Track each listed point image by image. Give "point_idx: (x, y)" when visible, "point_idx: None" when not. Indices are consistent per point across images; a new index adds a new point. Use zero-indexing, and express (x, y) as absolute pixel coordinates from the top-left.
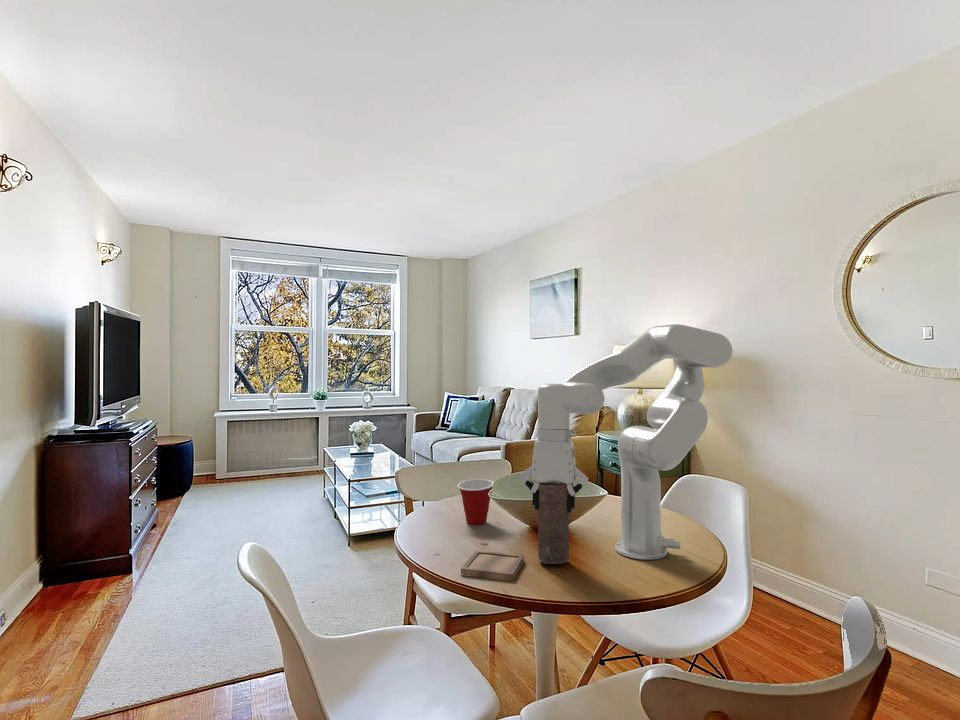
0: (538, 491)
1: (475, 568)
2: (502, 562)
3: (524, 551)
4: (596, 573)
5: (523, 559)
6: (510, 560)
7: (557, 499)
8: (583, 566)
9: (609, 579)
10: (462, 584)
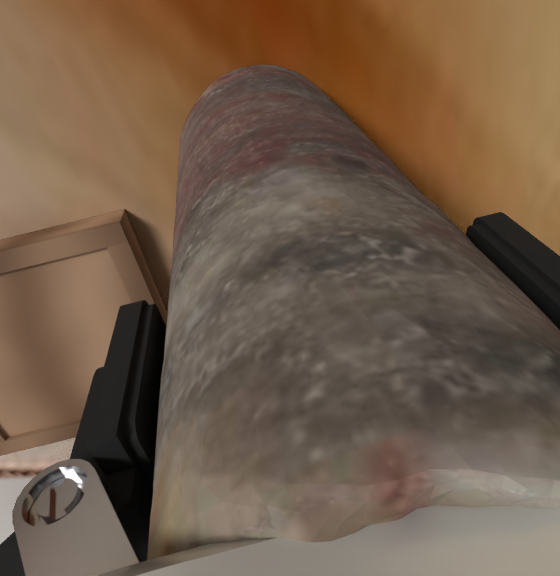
0: (144, 485)
1: (43, 432)
2: (82, 330)
3: (28, 60)
4: (479, 168)
5: (126, 226)
6: (96, 294)
7: None
8: (412, 116)
9: (533, 201)
10: None
